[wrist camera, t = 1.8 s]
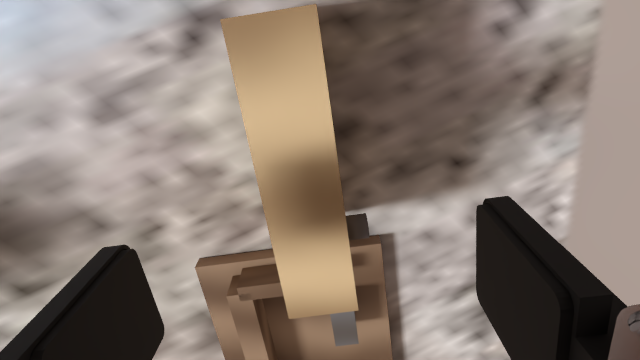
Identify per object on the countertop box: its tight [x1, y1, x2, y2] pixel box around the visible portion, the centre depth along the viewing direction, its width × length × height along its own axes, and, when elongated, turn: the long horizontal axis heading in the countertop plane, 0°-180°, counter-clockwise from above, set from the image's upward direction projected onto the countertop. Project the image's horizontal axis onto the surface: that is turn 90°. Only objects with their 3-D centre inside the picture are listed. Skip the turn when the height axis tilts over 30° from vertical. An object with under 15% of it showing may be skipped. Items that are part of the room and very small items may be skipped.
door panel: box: [220, 4, 369, 319], centre depth 18 cm, size 12×4×9 cm, turn 8°
